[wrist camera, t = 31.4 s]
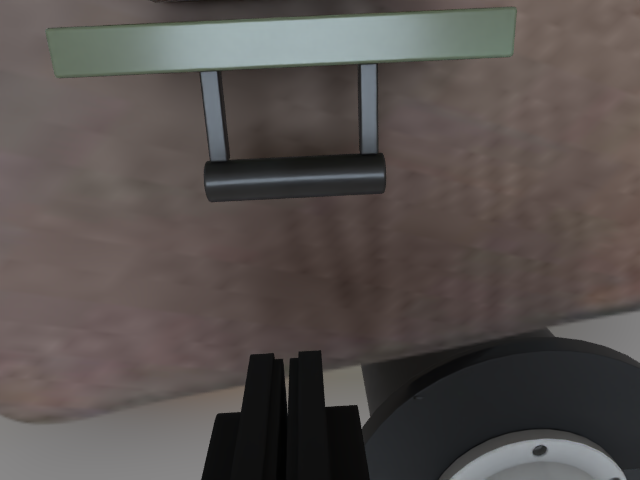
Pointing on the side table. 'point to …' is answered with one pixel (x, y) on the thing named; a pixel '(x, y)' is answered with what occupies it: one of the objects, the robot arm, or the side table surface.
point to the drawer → (282, 52)
